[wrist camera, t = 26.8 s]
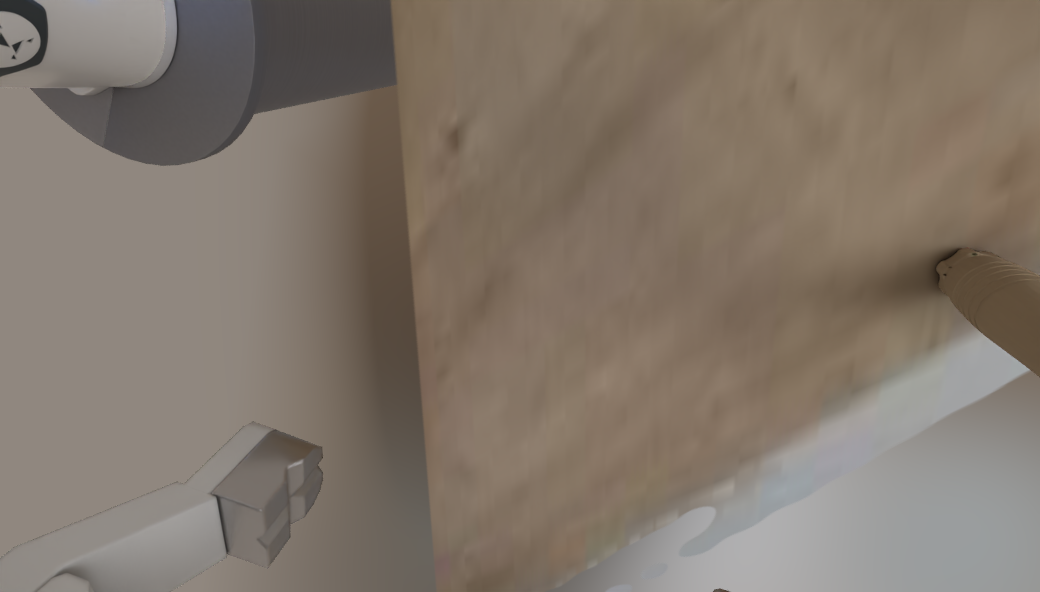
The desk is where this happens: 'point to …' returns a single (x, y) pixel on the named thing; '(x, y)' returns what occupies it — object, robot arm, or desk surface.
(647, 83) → the desk surface
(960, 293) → the handle
